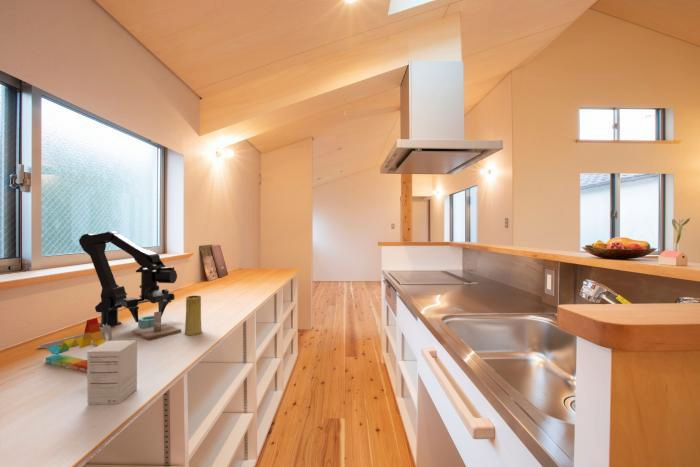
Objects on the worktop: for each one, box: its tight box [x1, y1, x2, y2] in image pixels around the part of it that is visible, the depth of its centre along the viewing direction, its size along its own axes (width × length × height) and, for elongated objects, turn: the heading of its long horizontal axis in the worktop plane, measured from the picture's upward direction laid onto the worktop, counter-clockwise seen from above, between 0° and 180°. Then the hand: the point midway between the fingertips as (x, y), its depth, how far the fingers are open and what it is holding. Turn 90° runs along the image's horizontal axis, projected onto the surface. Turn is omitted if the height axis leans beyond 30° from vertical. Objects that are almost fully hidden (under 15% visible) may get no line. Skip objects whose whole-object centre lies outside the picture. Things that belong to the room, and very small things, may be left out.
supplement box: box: [86, 339, 138, 406], centre depth 77 cm, size 7×7×13 cm
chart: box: [45, 317, 107, 373], centre depth 92 cm, size 30×3×15 cm, turn 71°
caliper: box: [35, 324, 113, 350], centre depth 112 cm, size 20×1×6 cm, turn 120°
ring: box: [137, 315, 154, 329], centre depth 134 cm, size 7×7×3 cm
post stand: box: [132, 311, 182, 341], centre depth 124 cm, size 12×12×8 cm
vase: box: [184, 294, 203, 336], centre depth 125 cm, size 6×6×14 cm
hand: (148, 319), depth 134 cm, fingers open, 9 cm apart
